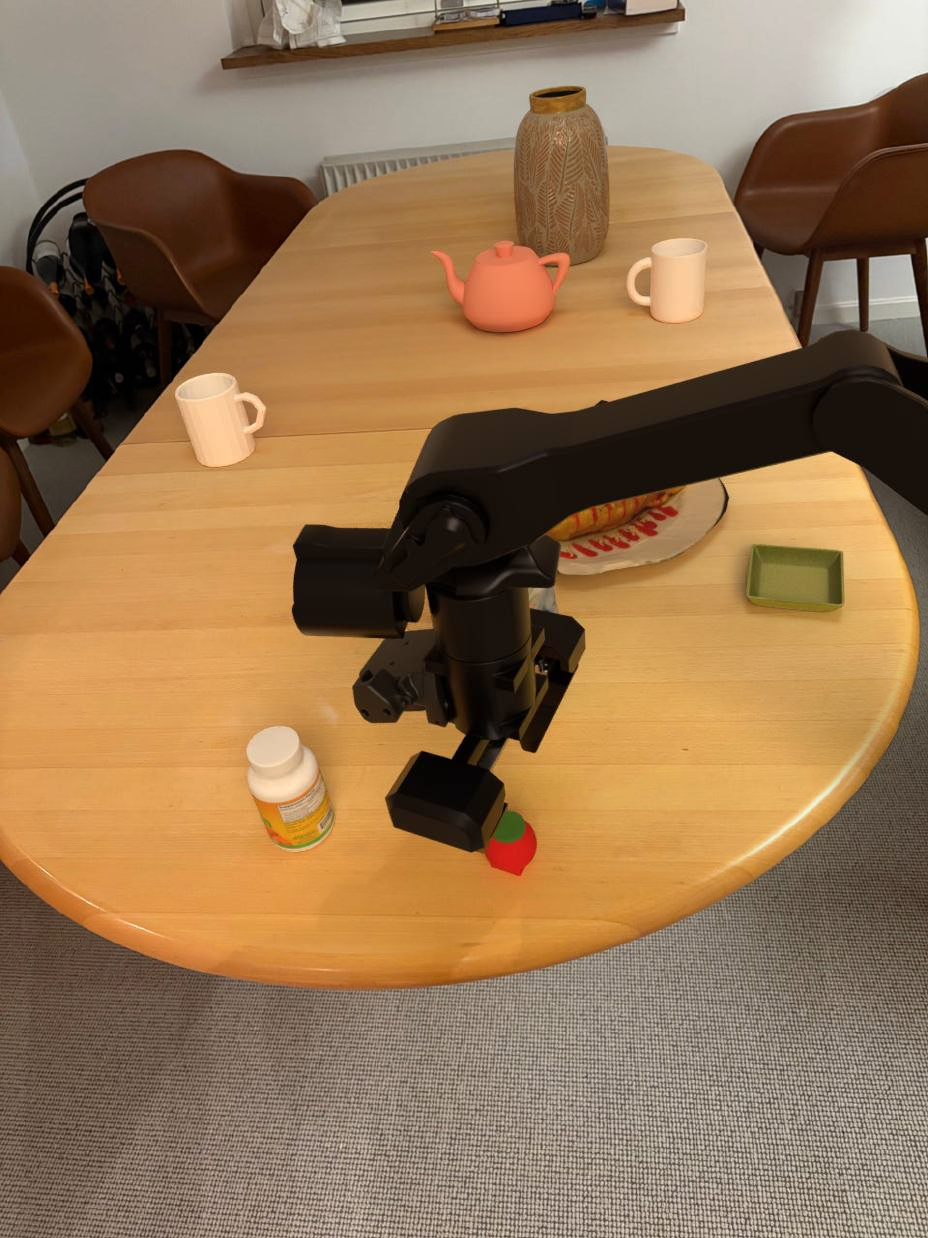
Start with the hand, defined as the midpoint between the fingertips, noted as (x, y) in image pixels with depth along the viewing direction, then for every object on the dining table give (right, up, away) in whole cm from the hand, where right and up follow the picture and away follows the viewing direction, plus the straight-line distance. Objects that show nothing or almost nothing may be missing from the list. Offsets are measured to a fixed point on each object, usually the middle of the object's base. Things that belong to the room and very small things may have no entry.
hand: (505, 797), depth 62 cm
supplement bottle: (-16, -4, +9) cm, 19 cm away
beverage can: (+3, +9, +21) cm, 23 cm away
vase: (+16, +81, +105) cm, 134 cm away
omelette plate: (+10, +26, +41) cm, 50 cm away
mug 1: (-34, +35, +59) cm, 77 cm away
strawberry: (+1, -6, +5) cm, 7 cm away
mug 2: (+29, +61, +78) cm, 103 cm away
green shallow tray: (+29, +15, +24) cm, 41 cm away
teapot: (+4, +62, +84) cm, 105 cm away
